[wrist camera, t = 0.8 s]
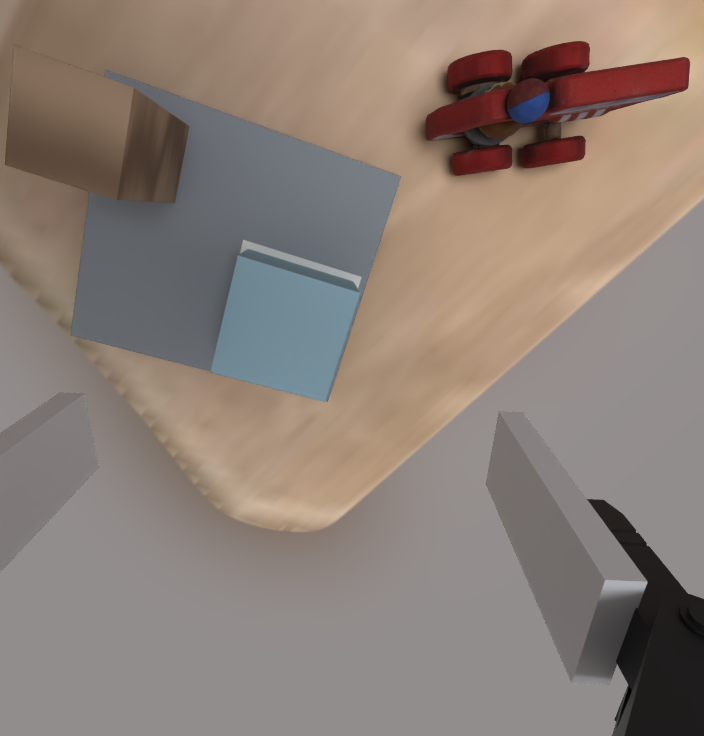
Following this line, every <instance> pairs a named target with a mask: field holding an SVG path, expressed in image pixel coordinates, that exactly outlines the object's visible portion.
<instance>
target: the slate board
mask: <svg viewBox="0 0 704 736" xmlns="http://www.w3.org/2000/svg"><path fill="white" fill-rule="evenodd" d="M105 78H108V79H111V80H114V81H116V82H119V83H122V84H125V85H128V86H130V87H133V88H135V89H136V90H138V91H139V92H141V93H142V94H144V95H145V96H146V97H148V98H149V99H151V100H152V101H154V102H155V103H157V104H158V105H160V106H161V107H162V108H164V109H165V110H167V111H168V112H170V113H171V114H173V115H174V116H175V117H177V118H178V119H180V120H181V121H183V122H184V123H186V124H187V125H188V126H189V131H188V137H187V142H186V147H185V153H184V158H183V163H182V169H181V174H180V179H179V185H178V190H177V195H176V201H175V203H167V202H147V201H127V200H115V199H112V198H109V197H106V196H103V195H99V194H96V193H93V192H89V199H88V207H87V214H86V222H85V229H84V237H83V245H82V252H81V260H80V267H79V275H78V282H77V290H76V297H75V305H74V313H73V320H72V328H71V336H75V337H79V338H83V339H87V340H91V341H95V342H99V343H102V344H106V345H110V346H114V347H118V348H122V349H126V350H130V351H133V352H137V353H141V354H145V355H149V356H153V357H157V358H161V359H164V360H168V361H172V362H176V363H180V364H184V365H188V366H192V367H195V368H199V369H203V370H207V371H211V367H212V363H213V359H214V355H215V350H216V346H217V342H218V338H219V333H220V329H221V325H222V321H223V316H224V312H225V308H226V304H227V300H228V295H229V291H230V287H231V283H232V278H233V274H234V270H235V266H236V261H237V257H238V255H239V254H241V253H242V252H244V251H246V250H247V249H251V250H254V251H257V252H260V253H264V254H267V255H270V256H273V257H276V258H280V259H283V260H286V261H289V262H292V263H296V264H299V265H302V266H305V267H309V268H312V269H315V270H318V271H321V272H325V273H328V274H331V275H334V276H337V277H341V278H344V279H347V280H350V281H353V282H354V283H355V285H356V287H357V288H358V290H359V292H360V295H359V298H358V302H357V305H356V308H355V311H354V314H353V317H352V320H351V323H350V326H349V329H348V332H347V335H346V339H345V342H344V345H343V348H342V351H341V354H340V357H339V360H338V363H337V366H336V369H335V373H334V376H333V379H332V382H331V385H330V388H329V391H328V394H327V397H326V400H325V401H327V402H328V399H329V396H330V393H331V390H332V387H333V384H334V381H335V378H336V375H337V372H338V369H339V366H340V363H341V359H342V356H343V353H344V350H345V347H346V344H347V341H348V338H349V335H350V332H351V329H352V326H353V323H354V320H355V316H356V313H357V310H358V307H359V304H360V301H361V298H362V295H363V292H364V289H365V286H366V283H367V280H368V277H369V274H370V270H371V267H372V264H373V261H374V258H375V255H376V252H377V249H378V246H379V243H380V240H381V237H382V234H383V231H384V227H385V224H386V221H387V218H388V215H389V212H390V209H391V206H392V203H393V200H394V197H395V194H396V191H397V188H398V185H399V181H400V178H401V176H398V175H395V174H392V173H390V172H387V171H384V170H381V169H378V168H376V167H373V166H370V165H367V164H365V163H362V162H359V161H356V160H354V159H351V158H348V157H345V156H343V155H340V154H337V153H334V152H332V151H329V150H326V149H323V148H321V147H318V146H315V145H312V144H310V143H307V142H304V141H301V140H298V139H296V138H293V137H290V136H287V135H285V134H282V133H279V132H276V131H274V130H271V129H268V128H265V127H263V126H260V125H257V124H254V123H252V122H249V121H246V120H243V119H241V118H238V117H235V116H232V115H229V114H227V113H224V112H221V111H218V110H216V109H213V108H210V107H207V106H205V105H202V104H199V103H196V102H194V101H191V100H188V99H185V98H183V97H180V96H177V95H174V94H172V93H169V92H166V91H163V90H160V89H158V88H155V87H152V86H149V85H147V84H144V83H141V82H138V81H136V80H133V79H130V78H127V77H125V76H122V75H119V74H116V73H114V72H111V71H108V70H106V71H105Z"/></svg>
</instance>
